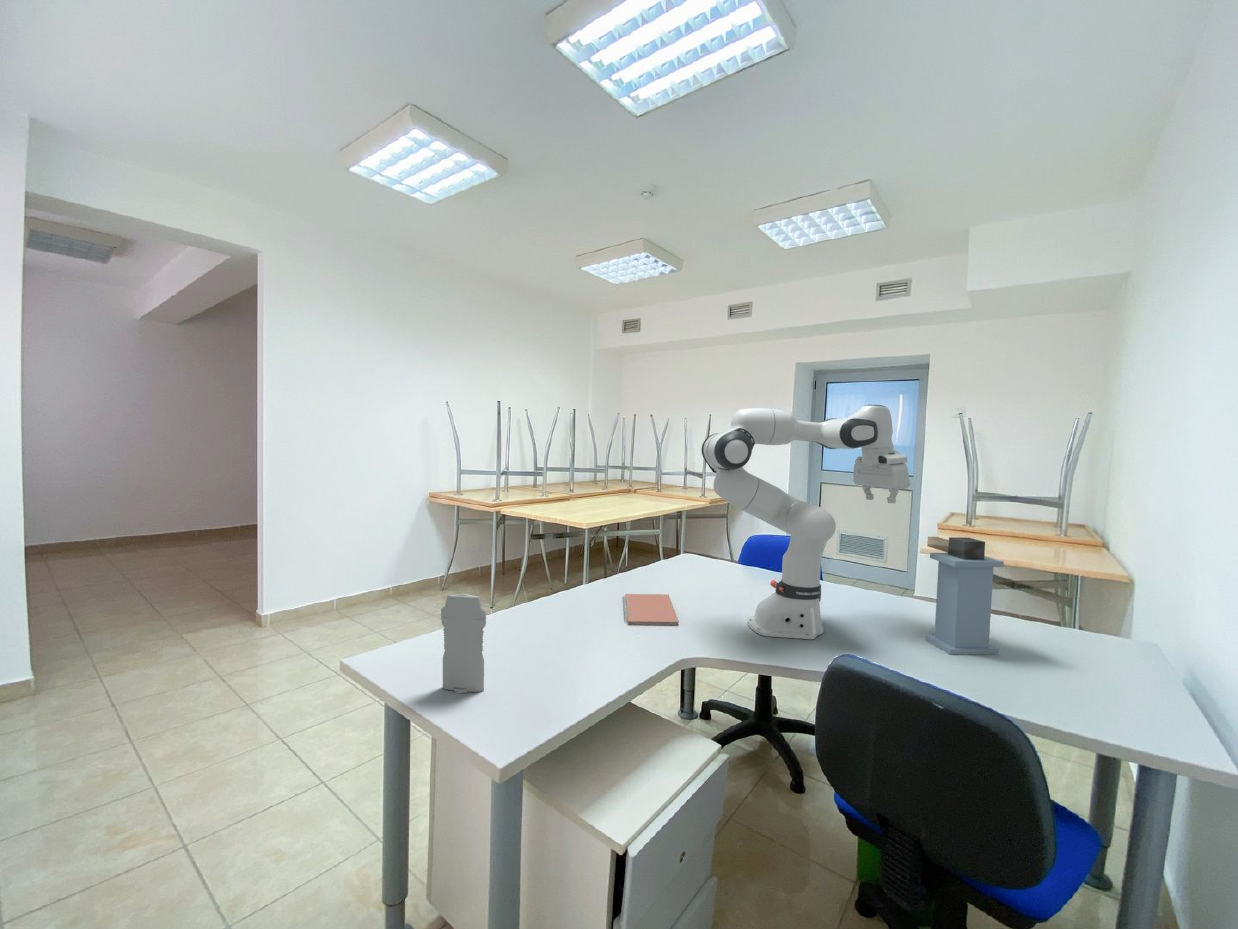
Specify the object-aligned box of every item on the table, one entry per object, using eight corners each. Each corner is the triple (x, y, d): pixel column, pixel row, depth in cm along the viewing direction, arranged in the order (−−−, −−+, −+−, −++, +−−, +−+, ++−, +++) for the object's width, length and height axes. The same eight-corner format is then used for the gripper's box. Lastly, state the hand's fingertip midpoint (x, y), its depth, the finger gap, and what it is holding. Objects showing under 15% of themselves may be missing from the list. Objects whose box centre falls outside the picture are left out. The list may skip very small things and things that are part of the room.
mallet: (963, 559, 139) (964, 541, 139) (922, 546, 156) (923, 530, 156) (984, 559, 139) (985, 541, 139) (941, 546, 156) (942, 530, 156)
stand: (949, 654, 138) (955, 561, 137) (925, 640, 148) (930, 552, 147) (998, 654, 139) (1003, 561, 138) (970, 639, 149) (975, 553, 148)
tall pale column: (489, 686, 116) (489, 592, 115) (482, 695, 112) (482, 597, 110) (445, 682, 117) (445, 589, 116) (436, 691, 113) (436, 595, 112)
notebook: (622, 598, 182) (622, 593, 182) (668, 599, 183) (668, 593, 183) (624, 626, 155) (624, 620, 155) (678, 627, 155) (678, 621, 155)
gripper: (847, 457, 165) (849, 498, 166) (893, 458, 145) (895, 506, 146) (863, 455, 166) (866, 496, 167) (911, 456, 146) (914, 503, 147)
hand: (880, 501), depth 156 cm, fingers open, 8 cm apart
